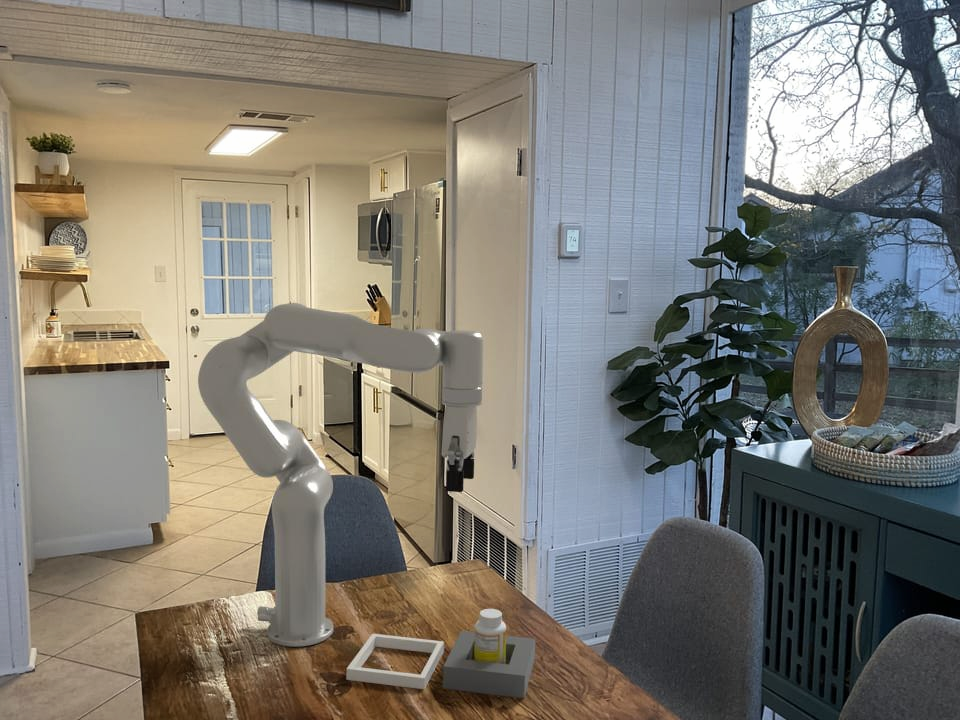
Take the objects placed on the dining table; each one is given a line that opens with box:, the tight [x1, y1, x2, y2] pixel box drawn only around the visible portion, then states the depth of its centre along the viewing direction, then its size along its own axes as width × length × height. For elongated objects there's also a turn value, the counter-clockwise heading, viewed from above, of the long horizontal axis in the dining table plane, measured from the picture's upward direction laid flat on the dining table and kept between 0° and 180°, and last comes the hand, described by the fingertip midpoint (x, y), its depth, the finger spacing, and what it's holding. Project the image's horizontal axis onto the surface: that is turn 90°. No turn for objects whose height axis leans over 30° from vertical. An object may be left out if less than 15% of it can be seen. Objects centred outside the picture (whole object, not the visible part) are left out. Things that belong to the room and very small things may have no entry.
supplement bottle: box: [474, 608, 507, 664], centre depth 143 cm, size 6×6×10 cm
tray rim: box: [346, 633, 445, 690], centre depth 146 cm, size 14×14×2 cm
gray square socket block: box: [442, 630, 536, 699], centre depth 143 cm, size 14×14×4 cm
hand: (460, 484), depth 154 cm, fingers open, 9 cm apart
